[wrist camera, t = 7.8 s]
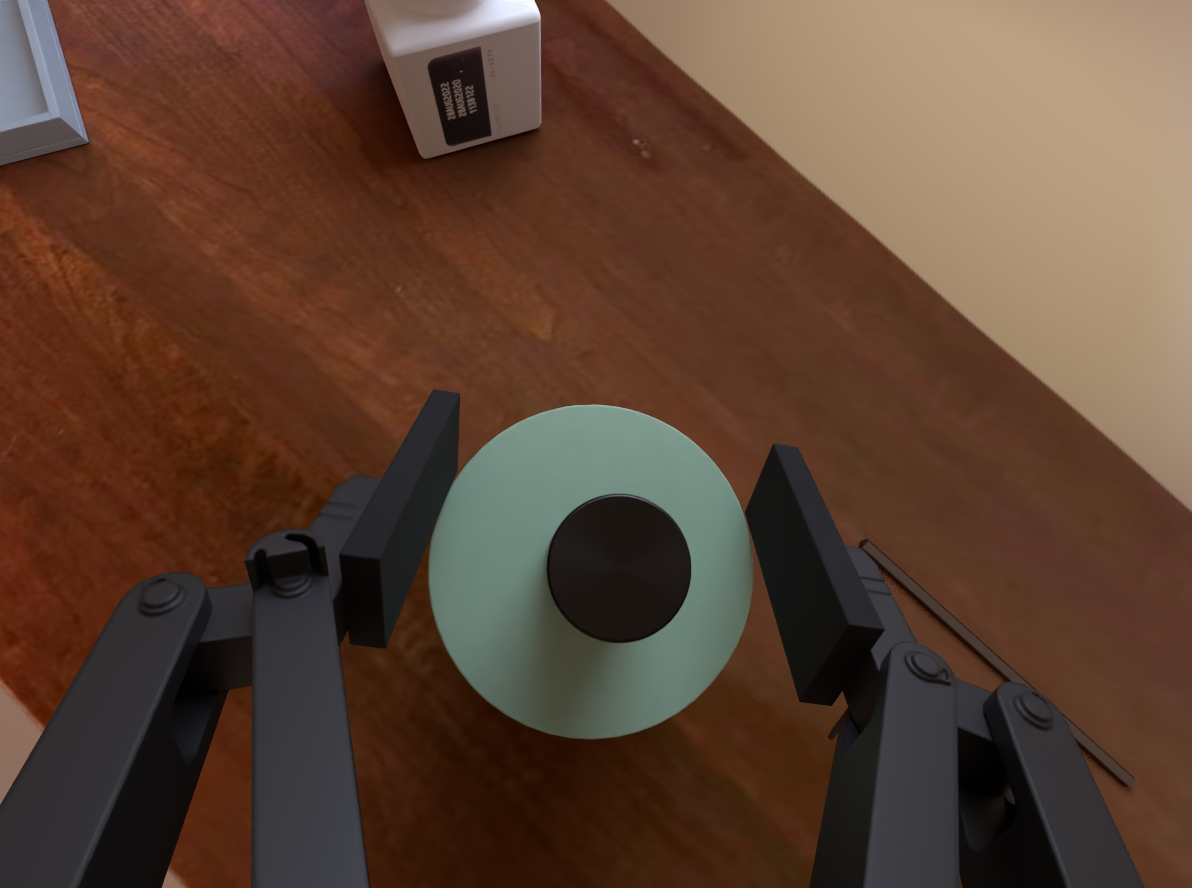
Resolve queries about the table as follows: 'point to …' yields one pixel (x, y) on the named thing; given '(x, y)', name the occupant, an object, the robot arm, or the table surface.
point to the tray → (34, 85)
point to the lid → (590, 571)
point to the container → (462, 68)
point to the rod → (986, 654)
